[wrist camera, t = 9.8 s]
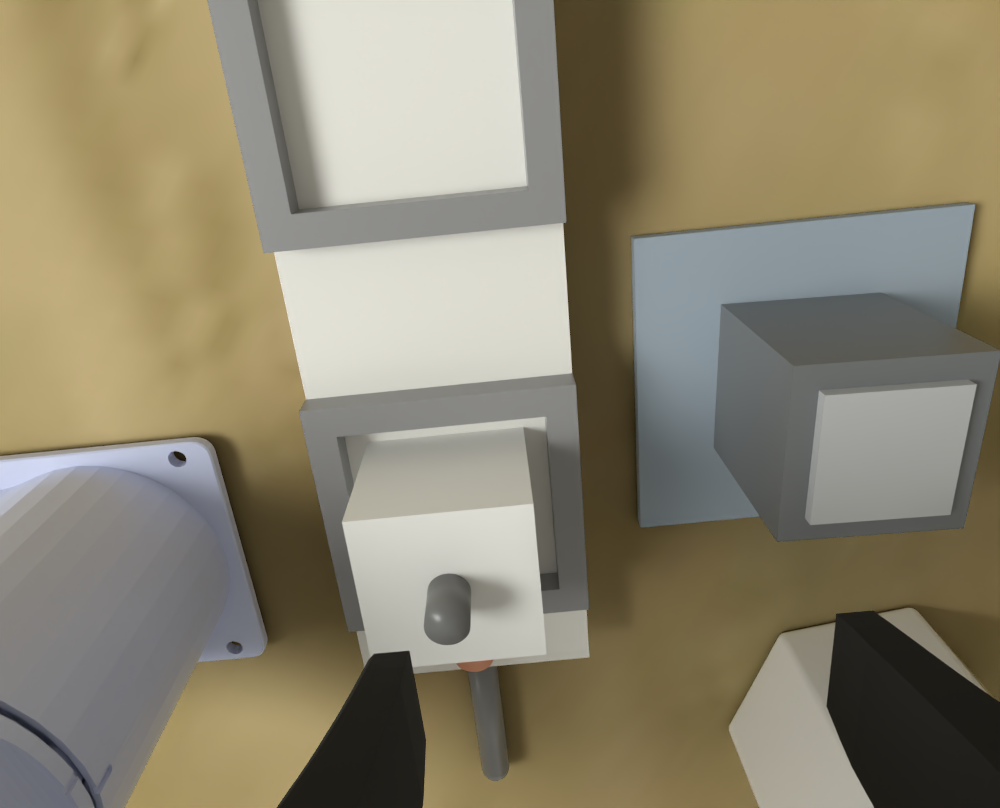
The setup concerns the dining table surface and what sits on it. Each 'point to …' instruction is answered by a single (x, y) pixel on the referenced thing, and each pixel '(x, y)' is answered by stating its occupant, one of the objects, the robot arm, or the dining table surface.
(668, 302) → the mat
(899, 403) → the block
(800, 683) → the jar
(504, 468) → the white plug
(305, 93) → the power strip
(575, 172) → the dining table surface
